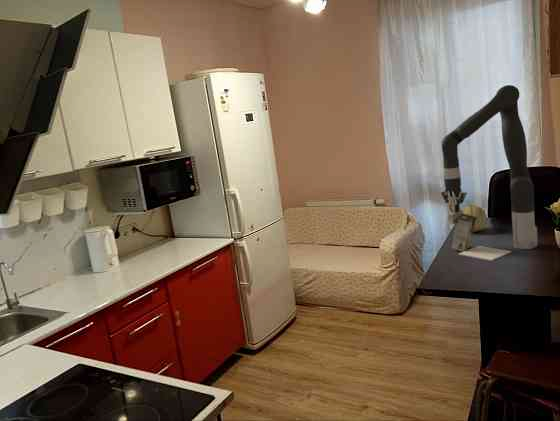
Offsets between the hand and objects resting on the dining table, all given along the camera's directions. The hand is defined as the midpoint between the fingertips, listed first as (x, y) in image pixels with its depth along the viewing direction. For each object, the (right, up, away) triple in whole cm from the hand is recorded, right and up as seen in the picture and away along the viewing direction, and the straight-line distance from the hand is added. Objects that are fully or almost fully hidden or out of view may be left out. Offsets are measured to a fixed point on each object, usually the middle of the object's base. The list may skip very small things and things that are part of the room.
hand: (455, 211), depth 223 cm
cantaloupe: (+21, -11, +29) cm, 38 cm away
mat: (+10, -20, -10) cm, 24 cm away
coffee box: (+3, -18, +2) cm, 18 cm away
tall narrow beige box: (+1, -5, +1) cm, 5 cm away
